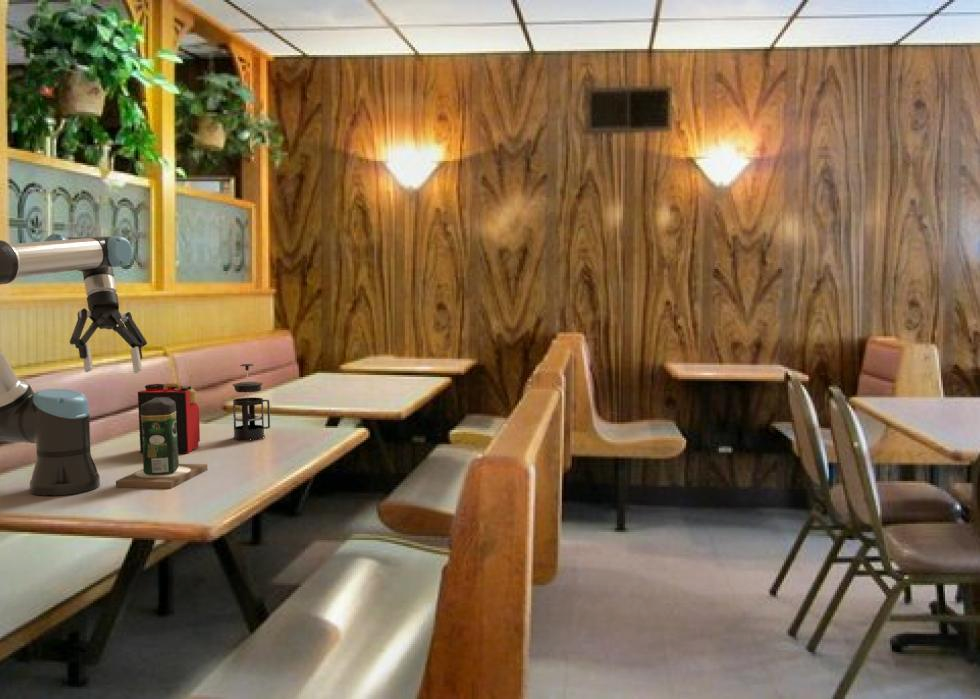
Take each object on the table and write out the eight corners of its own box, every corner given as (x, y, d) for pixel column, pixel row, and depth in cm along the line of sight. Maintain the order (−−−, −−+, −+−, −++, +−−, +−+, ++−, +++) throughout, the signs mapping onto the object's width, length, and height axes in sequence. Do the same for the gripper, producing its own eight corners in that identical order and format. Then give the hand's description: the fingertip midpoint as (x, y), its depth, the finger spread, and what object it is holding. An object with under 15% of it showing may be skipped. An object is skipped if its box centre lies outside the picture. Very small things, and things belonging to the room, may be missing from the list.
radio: (203, 447, 267) (201, 379, 265) (188, 454, 257) (186, 383, 255) (152, 446, 269) (149, 379, 267) (135, 453, 259) (132, 383, 257)
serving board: (171, 488, 216) (171, 481, 216) (115, 487, 218) (115, 480, 218) (207, 469, 236) (207, 463, 236) (156, 468, 238) (156, 462, 238)
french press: (227, 440, 277) (225, 365, 275) (235, 435, 286) (233, 362, 284) (266, 440, 277) (264, 365, 275) (273, 434, 286) (271, 362, 284)
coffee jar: (149, 468, 231) (146, 395, 229) (181, 467, 232) (178, 395, 230) (139, 476, 221) (136, 401, 220) (173, 475, 222) (170, 400, 221)
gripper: (137, 304, 252) (149, 376, 247) (48, 296, 232) (59, 374, 227) (152, 293, 248) (165, 367, 243) (62, 285, 228) (75, 364, 223)
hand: (114, 371), depth 235 cm, fingers open, 13 cm apart
